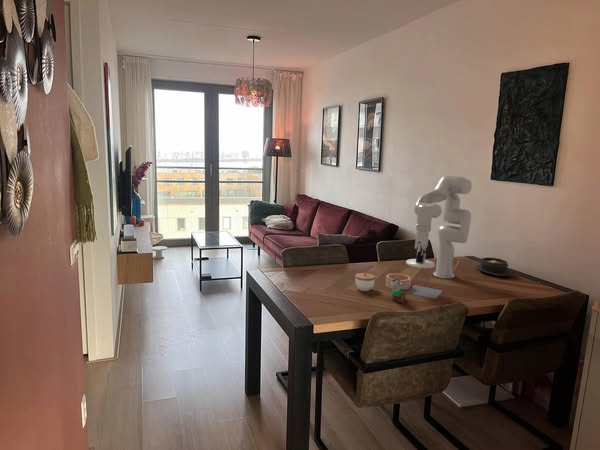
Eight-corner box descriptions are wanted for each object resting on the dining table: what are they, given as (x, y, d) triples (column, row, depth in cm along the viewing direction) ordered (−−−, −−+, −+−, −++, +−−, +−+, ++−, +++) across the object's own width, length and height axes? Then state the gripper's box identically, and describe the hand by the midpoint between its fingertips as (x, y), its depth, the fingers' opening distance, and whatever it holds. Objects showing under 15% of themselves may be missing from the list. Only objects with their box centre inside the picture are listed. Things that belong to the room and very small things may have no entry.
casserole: (518, 278, 270) (520, 265, 269) (492, 279, 266) (494, 266, 265) (492, 267, 294) (494, 255, 293) (468, 267, 290) (469, 255, 289)
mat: (414, 285, 247) (414, 284, 247) (442, 291, 239) (443, 290, 239) (405, 293, 234) (405, 292, 234) (435, 299, 226) (435, 298, 226)
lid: (410, 259, 246) (411, 248, 244) (437, 263, 238) (438, 252, 237) (402, 265, 233) (403, 254, 232) (431, 269, 226) (432, 258, 224)
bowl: (390, 282, 253) (391, 272, 252) (412, 286, 246) (413, 276, 245) (382, 287, 242) (383, 277, 241) (405, 292, 235) (406, 282, 234)
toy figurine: (386, 295, 229) (388, 277, 227) (398, 296, 230) (399, 277, 228) (393, 304, 217) (395, 285, 215) (405, 304, 217) (407, 285, 216)
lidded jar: (373, 293, 232) (374, 276, 230) (353, 291, 234) (354, 274, 232) (374, 287, 242) (375, 271, 241) (355, 285, 245) (356, 269, 243)
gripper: (420, 225, 241) (417, 257, 244) (412, 229, 227) (409, 263, 230) (434, 226, 237) (431, 259, 241) (426, 231, 223) (423, 265, 226)
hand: (420, 260), depth 235 cm, fingers closed on lid, 4 cm apart
